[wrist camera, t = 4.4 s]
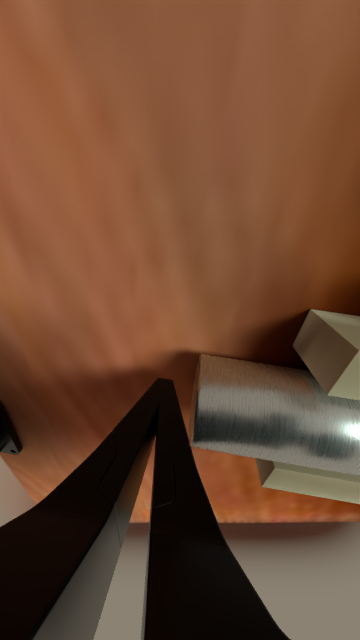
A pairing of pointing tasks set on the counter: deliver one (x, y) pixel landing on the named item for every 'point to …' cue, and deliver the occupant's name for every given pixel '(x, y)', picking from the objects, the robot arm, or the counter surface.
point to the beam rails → (336, 380)
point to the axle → (272, 415)
